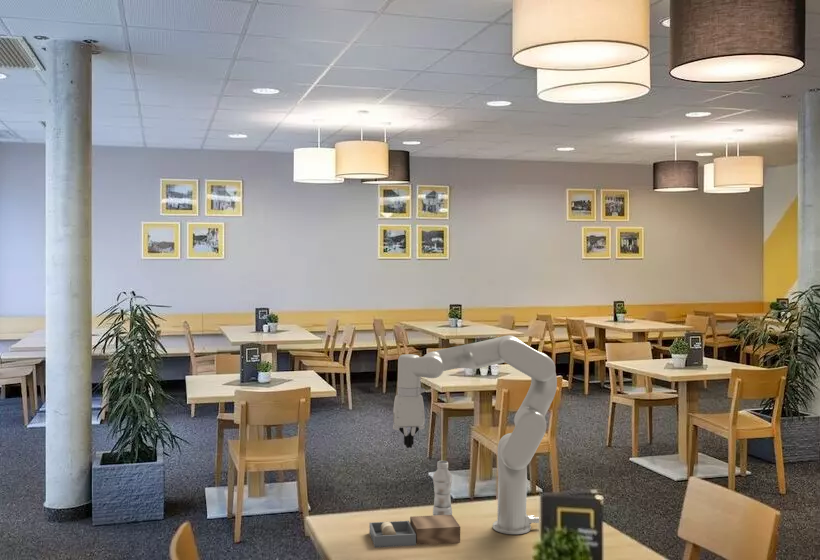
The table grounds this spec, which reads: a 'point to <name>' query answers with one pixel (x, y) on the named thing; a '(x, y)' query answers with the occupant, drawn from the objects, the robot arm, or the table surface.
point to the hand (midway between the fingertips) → (408, 446)
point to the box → (403, 537)
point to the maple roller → (387, 529)
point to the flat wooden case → (435, 529)
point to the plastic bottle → (442, 489)
